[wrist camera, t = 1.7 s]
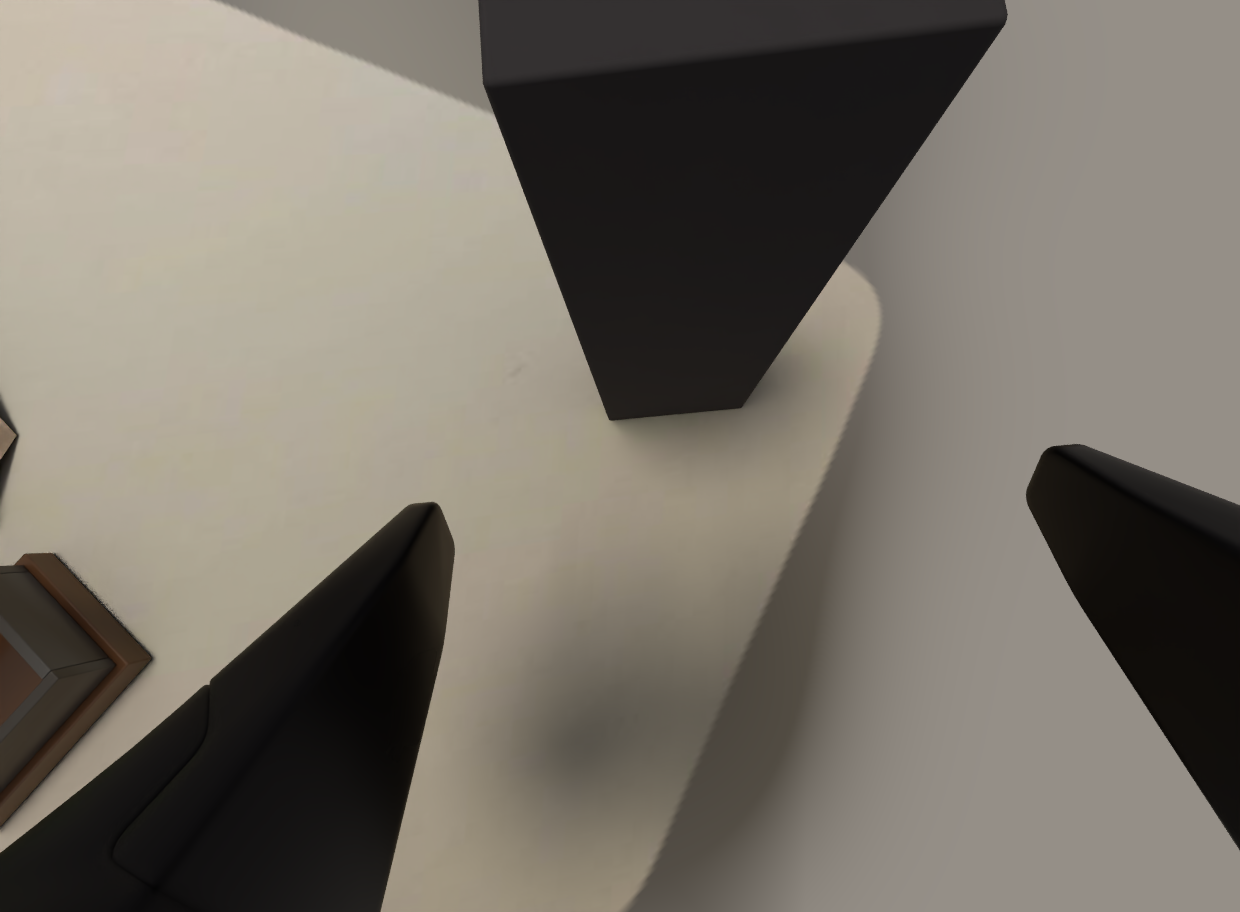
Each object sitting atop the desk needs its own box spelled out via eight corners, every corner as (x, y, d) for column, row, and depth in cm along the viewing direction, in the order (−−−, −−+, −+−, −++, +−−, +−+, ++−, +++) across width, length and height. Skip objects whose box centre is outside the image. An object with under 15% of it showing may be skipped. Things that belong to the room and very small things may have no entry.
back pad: (741, 408, 21) (1012, 18, 5) (608, 420, 21) (481, 85, 5) (732, 331, 21) (957, -243, 6) (602, 344, 22) (467, -172, 6)
